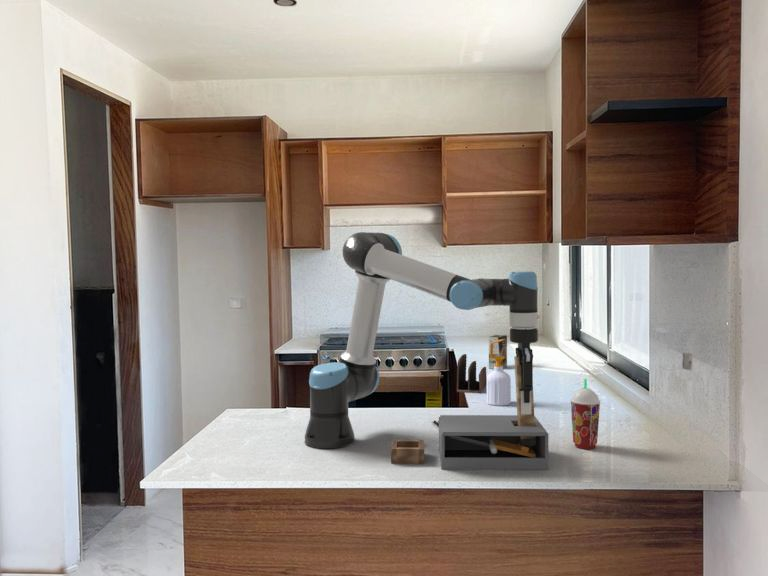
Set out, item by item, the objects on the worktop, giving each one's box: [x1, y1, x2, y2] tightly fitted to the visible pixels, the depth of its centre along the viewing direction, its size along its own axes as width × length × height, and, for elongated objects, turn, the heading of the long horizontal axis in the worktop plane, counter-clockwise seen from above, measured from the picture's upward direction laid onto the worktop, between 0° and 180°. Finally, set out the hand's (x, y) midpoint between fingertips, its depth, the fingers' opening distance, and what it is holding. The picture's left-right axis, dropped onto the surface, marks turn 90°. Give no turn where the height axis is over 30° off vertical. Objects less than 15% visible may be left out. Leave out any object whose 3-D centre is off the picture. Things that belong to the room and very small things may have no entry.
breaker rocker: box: [448, 436, 536, 458], centre depth 180 cm, size 24×15×2 cm, turn 88°
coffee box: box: [488, 334, 508, 370], centre depth 326 cm, size 9×6×16 cm
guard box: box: [438, 414, 549, 471], centre depth 180 cm, size 28×18×10 cm, turn 87°
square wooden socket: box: [390, 439, 425, 465], centre depth 181 cm, size 9×9×4 cm
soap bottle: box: [486, 339, 512, 407], centre depth 247 cm, size 9×9×25 cm
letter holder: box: [456, 353, 487, 394], centre depth 277 cm, size 10×20×14 cm, turn 164°
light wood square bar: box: [513, 356, 536, 446], centre depth 179 cm, size 4×4×24 cm
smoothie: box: [570, 378, 601, 450], centre depth 191 cm, size 8×8×20 cm
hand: (524, 411), depth 179 cm, fingers closed on light wood square bar, 4 cm apart
